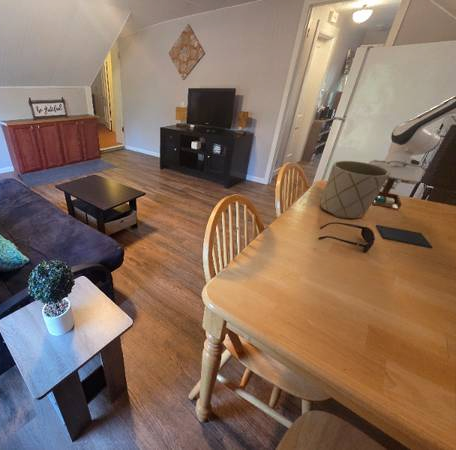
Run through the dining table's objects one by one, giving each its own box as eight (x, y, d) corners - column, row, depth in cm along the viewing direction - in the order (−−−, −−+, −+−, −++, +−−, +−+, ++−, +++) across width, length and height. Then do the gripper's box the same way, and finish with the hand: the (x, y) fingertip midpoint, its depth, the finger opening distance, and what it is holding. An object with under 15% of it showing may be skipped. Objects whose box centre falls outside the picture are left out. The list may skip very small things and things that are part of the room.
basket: (369, 193, 126) (379, 175, 121) (394, 198, 121) (405, 179, 116) (370, 204, 116) (381, 184, 111) (398, 209, 111) (410, 189, 106)
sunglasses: (371, 257, 82) (378, 245, 80) (317, 242, 89) (322, 231, 87) (367, 238, 92) (373, 226, 89) (319, 226, 99) (323, 215, 96)
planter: (308, 201, 118) (323, 161, 107) (346, 200, 119) (365, 160, 108) (334, 222, 102) (355, 176, 91) (378, 221, 102) (404, 176, 92)
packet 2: (384, 199, 119) (385, 197, 118) (392, 201, 117) (393, 198, 116) (385, 202, 116) (386, 200, 115) (393, 204, 114) (394, 201, 114)
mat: (420, 234, 94) (421, 232, 94) (431, 248, 87) (432, 247, 86) (376, 225, 99) (376, 224, 99) (383, 238, 92) (383, 237, 91)
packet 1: (375, 197, 120) (376, 195, 120) (382, 199, 119) (384, 196, 118) (375, 200, 118) (377, 198, 117) (383, 202, 116) (385, 199, 115)
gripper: (372, 155, 123) (363, 180, 122) (427, 163, 113) (418, 189, 112) (368, 162, 129) (359, 185, 127) (420, 169, 119) (411, 195, 117)
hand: (387, 187), depth 119 cm, fingers closed on basket, 2 cm apart
